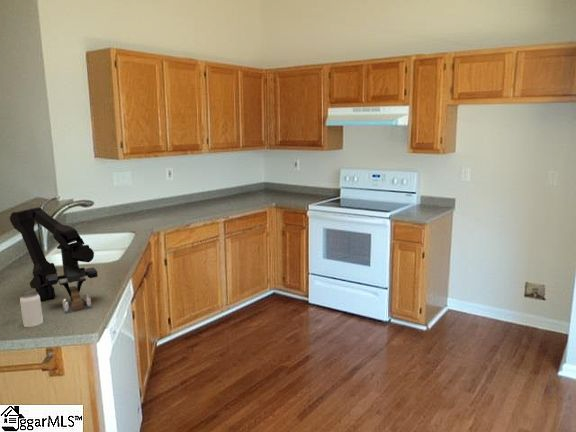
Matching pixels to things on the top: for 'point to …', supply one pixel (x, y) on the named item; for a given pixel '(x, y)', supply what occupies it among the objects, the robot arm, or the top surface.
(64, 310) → the mat
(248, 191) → the top surface
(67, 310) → the pair of rounded blocks
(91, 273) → the robot arm
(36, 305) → the can
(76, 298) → the brown rectangular block
